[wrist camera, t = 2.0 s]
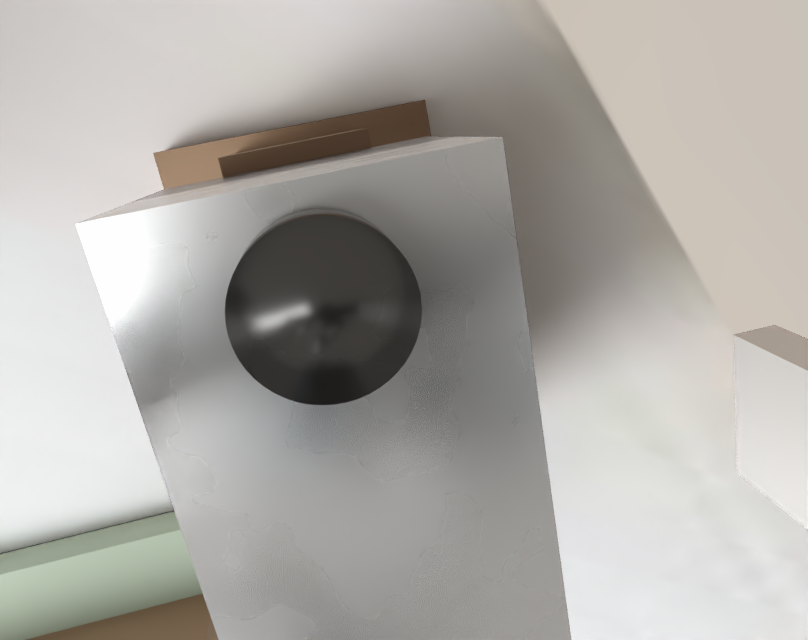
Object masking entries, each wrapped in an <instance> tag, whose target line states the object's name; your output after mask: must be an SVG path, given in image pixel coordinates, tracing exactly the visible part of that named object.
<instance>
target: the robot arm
mask: <svg viewBox="0 0 808 640" xmlns="http://www.w3.org/2000/svg"><path fill="white" fill-rule="evenodd" d="M734 374H735V414H736V454H737V474H739V475H740V476H741V477H742V478H744V479H745V480H746V481H747V482H749V483H750V484H751V485H752V486H754V487H755V488H756V489H757V490H759V491H760V492H761V493H762V494H764V495H765V496H766V497H767V498H769V499H770V500H771V501H772V502H774V503H775V504H776V505H777V506H779V507H780V508H781V509H782V510H784V511H785V512H786V513H787V514H789V515H790V516H791V517H792V518H794V519H795V520H796V521H797V522H798V523H800V524H801V525H802V526H803V527H805V528H806V529H807V530H808V339H807V338H805V337H802V336H800V335H797V334H795V333H792V332H790V331H788V330H786V329H783V328H781V327H778V326H776V325H772V326H768V327H764V328H760V329H756V330H752V331H747V332H743V333H739V334H735V335H734Z"/></svg>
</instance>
